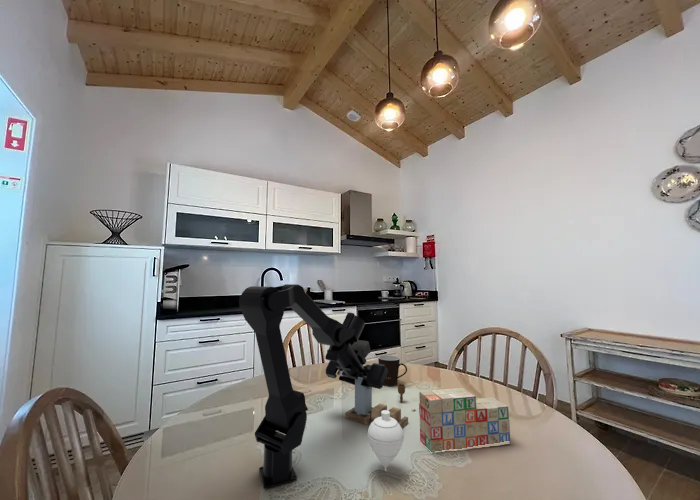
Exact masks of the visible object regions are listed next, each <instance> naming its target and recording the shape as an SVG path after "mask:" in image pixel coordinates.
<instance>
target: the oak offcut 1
mask: <svg viewBox="0 0 700 500" xmlns="http://www.w3.org/2000/svg"><path fill="white" fill-rule="evenodd" d="M383 410H387V411H388V405H387V404H384V403H381V402H380V403H378V404H377V405H376V406H374V407H373V408H372V409H371V413H370V414H371V423H372V422H373V421H374V419H375V418H377V417H381V411H383ZM371 423H370V424H371Z"/></svg>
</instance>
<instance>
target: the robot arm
mask: <svg viewBox="0 0 700 500" xmlns="http://www.w3.org/2000/svg"><path fill="white" fill-rule="evenodd" d="M238 299H239V300H238V305H239V308H240V311H241V313H242V316H243V319H244V320H245V321H246V323H247V324H248V325H249V327H251V329H252V330H253V332H254V334H255V338H256V343H257V347H258V352H259V357H260V361H261V366H262V370H263V373H264V374H263V375H264V378H265V382H266V383H265V384H266V388H267V392H268V397H267V400H266V401H265V405H264V410H265V411H264V413H265V415H264V417H263V418H262V420H261V422H260V423H259V425H258V426H257V429H256V430H255V432H254V437H255V441H256V442H257V443H261V444H263V446H264V447H263V466H261V467H259V468H258V472H259V476H260V479H261V483H262V487H263V489H269V488H273V487H276V486H281V485H283V484H287V483H290V482H294V481H296V480H298V475H297V474H296V473H297V472H296V471H295V469H294V467H293V450H296V449H297V448H298V447H299V446H301V445H302V443H303V438H304V433H305V428H306V425H307V420H308V416H307V415H308V414H307V411H308V410H309V408H308V406H307V405H306V396H305V394H304V392H302V391H298V390H295V389H294V388H293V385H292V380H291V374H290V369H289V364H288V360H287V356H286V352H285V347H284V346H285V345H284V342H283V337H282V332H281V329H280V327H281V323H282V320H283V317H284V315H285V311H284V310H285V309H286V308H291V310H293V312H295V314H296V315H298V316H299V318H301V319H302V320H303V322H305V323H306V325H308V326H309V327H310V328H311V331H312V336H313V338H314V339H315V341H316V342H317V343H318V344H320V345H322V346H323V345H324V346H329V347H328V349H327V351H326V354H325V360H327V361H328V364H327V366H326V368H325V374H326V376H327V377H328V378H331V379H336V378H337V377H338V376H339V377H338V380H339V381H340V382H344V383H348V384H350V385H353V386H355V379H358V377H359V378H363V380H362V383H361V386H364V387H366V388H368V389H372V390H373V389H377V390H378V389H379V390H381V389H382V388H383V384H384V381H385V379H386V376H387V373H388V369H387V368H386V366H385V365H383V364H379V363H376V362H373V363H372V364H367V359H366V358H367V356H368V355H369V354H370V353H371V351H372V350H371V347H370V342H369V341H368V340H360V339H359V338H360V336H361V335H362V332H363V330H364V327H365V326H366V322H365V321H364V319H362V318H361V317H359V316H358V315H355V313H354V312H347V313H346V315H345V318H344V320H343V322H340V321H338V320H336V319H335V318H332V317H329V315H327V314H326V313H325V312H324V311H323V310H322V309H321V308H320V306H319V305H317V304H316V302H315V301H314V300H313V299H312V298H311V297H310V295H308V293H307V292H305V288H304V287H303V286H302V285H300V284H296V283H295V284H294V283H293V284H292V283H291V284H283V285H279V286H258V285H257V286H256V285H255V286H253V285H252V286H248V287H246V288H245V289H244V290H243V291H242V293H241V295H240V296H239V298H238ZM363 365H364V366H363Z"/></svg>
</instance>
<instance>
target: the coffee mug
mask: <svg viewBox="0 0 700 500" xmlns="http://www.w3.org/2000/svg"><path fill="white" fill-rule="evenodd" d="M377 359H378V364H383V365H385V366H386V368H387V369H388V373H387V376H386V379H385V381H384V384H383V386H384V387H389V388H390V387H396V386H398V382H399V380H398V379H400V378H402V377H404V375H406V374H407V372H408V367H407V365H406V364H405V363H402V362H401V363H400V360H401V357H400V356H397V355H393V354H392V355H390V354H389V355H388V354H382V355H379V356H378V357H377ZM400 366H403V367H404V368H405V370H404V372H403V374H400V375H399V372H400V371H399V370H400Z"/></svg>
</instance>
